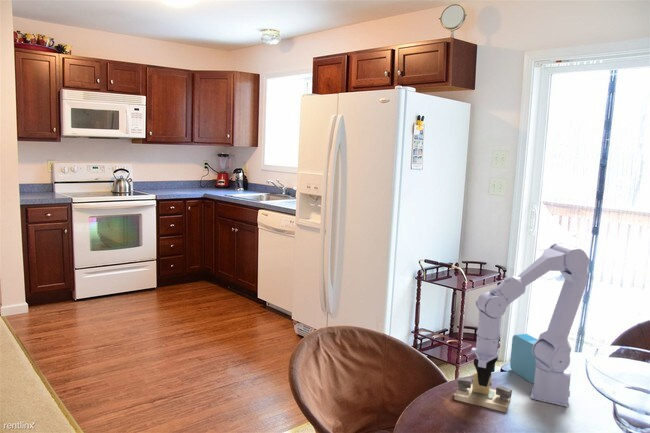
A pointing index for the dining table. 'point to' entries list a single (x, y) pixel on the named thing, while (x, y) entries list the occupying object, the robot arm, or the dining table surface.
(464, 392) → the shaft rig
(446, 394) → the dining table surface
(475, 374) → the coupler
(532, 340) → the light blue flat block
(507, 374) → the dining table surface
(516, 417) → the dining table surface
